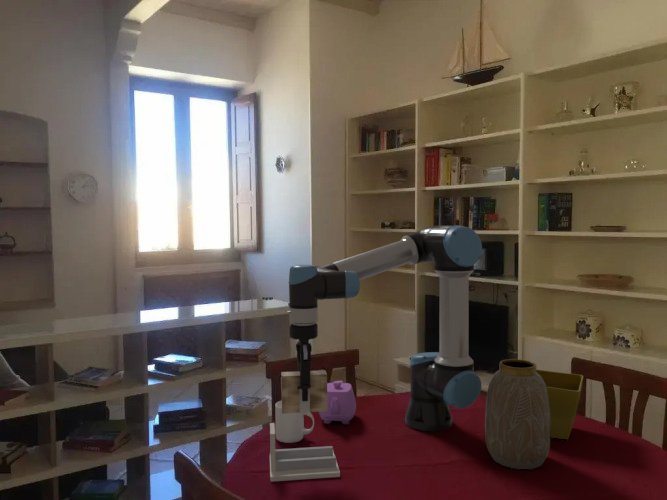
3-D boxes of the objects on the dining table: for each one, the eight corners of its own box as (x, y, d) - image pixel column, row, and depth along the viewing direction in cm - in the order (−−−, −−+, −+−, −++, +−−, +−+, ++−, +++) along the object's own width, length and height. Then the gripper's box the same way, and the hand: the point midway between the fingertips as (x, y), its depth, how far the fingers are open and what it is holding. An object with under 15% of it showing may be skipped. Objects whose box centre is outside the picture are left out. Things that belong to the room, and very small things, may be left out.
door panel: (325, 406, 151) (325, 370, 151) (327, 411, 147) (327, 374, 146) (281, 408, 150) (281, 372, 149) (282, 413, 145) (281, 376, 145)
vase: (548, 451, 158) (550, 358, 157) (551, 477, 142) (553, 374, 140) (486, 443, 164) (487, 353, 162) (482, 468, 147) (483, 369, 146)
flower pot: (582, 425, 177) (583, 374, 176) (578, 447, 160) (579, 390, 159) (521, 416, 186) (521, 367, 185) (511, 436, 169) (511, 382, 168)
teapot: (322, 408, 195) (322, 373, 194) (357, 409, 194) (357, 374, 193) (314, 430, 175) (314, 390, 175) (353, 431, 174) (353, 391, 173)
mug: (311, 445, 164) (311, 409, 163) (272, 442, 166) (271, 407, 165) (317, 434, 172) (316, 400, 171) (279, 432, 174) (279, 398, 173)
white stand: (333, 454, 157) (332, 415, 157) (340, 476, 143) (339, 434, 143) (269, 458, 155) (269, 419, 154) (270, 481, 141) (269, 438, 140)
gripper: (287, 317, 155) (288, 399, 156) (291, 329, 138) (291, 421, 139) (314, 316, 156) (314, 398, 157) (320, 328, 139) (321, 419, 140)
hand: (304, 408), depth 148 cm, fingers closed on door panel, 4 cm apart
